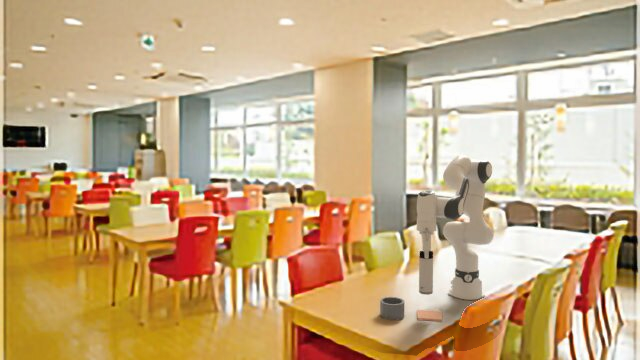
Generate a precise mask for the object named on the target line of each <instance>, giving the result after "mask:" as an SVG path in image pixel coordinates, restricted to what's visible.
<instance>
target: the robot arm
mask: <svg viewBox="0 0 640 360" xmlns="http://www.w3.org/2000/svg"><path fill="white" fill-rule="evenodd" d="M492 173H493V167H492V164H491V162H490V161H488V160H484V159H481V160H479V159H478V160H477V159H470V158H469V157H468V156H466V155H463V154H460V155H457V156H456V157H454V158H453V159H452V160H451V161H450V162H449V164H448V165H447V166H446V168H445V169H444V172H443V175H442V179H443V182H444V183H445V184H446V186H448V188H450V189H451V190H452V189H453V190H456V192H455V195H454V196H452V197H444V196H438V195H437V194H436V192H435V191H433V190H423V191H420V192H418V194H417V197H416V199H417V200H416V214H417V216H416V231H417V232H419V233H418V234H419V235H421V240H422V241H421V243H422V248H421V249H422V251H424V255H425V259H428V258H429V251H432V236H433V235H434V234H435V233H434V232H436V231H437V218H440V219H447V220H453V221H448V222H446V223H445V224H444V226H443V229H442V233H443V236H444V238H445V239H446V240H447V241H448V242H449V243H450V244H451V246H452V248H453V250H454V253H455V268H454V275H455V276H454V277H453V278H452V279H450V288H449V289H448V293H447V295H449V296H452V297H455V298H457V299H461V300H466V301H467V300H470V301H471V300H472V301H473V300H479V299H481V298H486V294H485V293H484V292H483V284H482V283H483V282H482V280H481V279H480V278H479V277H480V270H479V255H478V254H477V252H475V251H474V250H473V249H471V248H470V245H477V246H485V245H490V244H491V243H492V241H493V240H494V235H495V234H494V230H493V228H492V227H491V226H490V225H489V223H488V222H486V220H485V218H484V217H485V216H484V204H485V195H486V183H487V181H489V179H490V178H491V177H492V175H493V174H492ZM463 215H465V216H466V217H468V218H469V221H468V222H466V221H457V220H458V219H460V217H462V216H463ZM469 244H470V245H469Z"/></svg>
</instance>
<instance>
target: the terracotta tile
mask: <svg viewBox="0 0 640 360" xmlns="http://www.w3.org/2000/svg"><path fill="white" fill-rule="evenodd" d="M416 311H417V313H416V314H417V321H418V320H420V321H431V322H432V321H435V322H443V316H442V311H441V310H431V309H417V310H416Z"/></svg>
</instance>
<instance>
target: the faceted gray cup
mask: <svg viewBox="0 0 640 360" xmlns="http://www.w3.org/2000/svg"><path fill="white" fill-rule="evenodd" d="M379 302H380V303H379V307H380V308H379V309H380V311H379V313H380V314H379V315H380V317H381V318H382V319H386V320H390V321H399V320H402V319H404V318H405V299H403V298H400V297H398V296H385V297H382V298H380V301H379Z"/></svg>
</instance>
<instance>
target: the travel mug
mask: <svg viewBox="0 0 640 360" xmlns="http://www.w3.org/2000/svg"><path fill="white" fill-rule="evenodd" d="M418 254H419V257H418V258H419V260H418V261H419V262H418V265H419V268H418V272H419V273H418V293H419V294H421V295H427V296H428V295H432V294H433V292H434V288H433V287H434V251H433V250H431V251H429V258H428V259H425V255H424V251H423V250H420V251H419V253H418Z"/></svg>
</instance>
